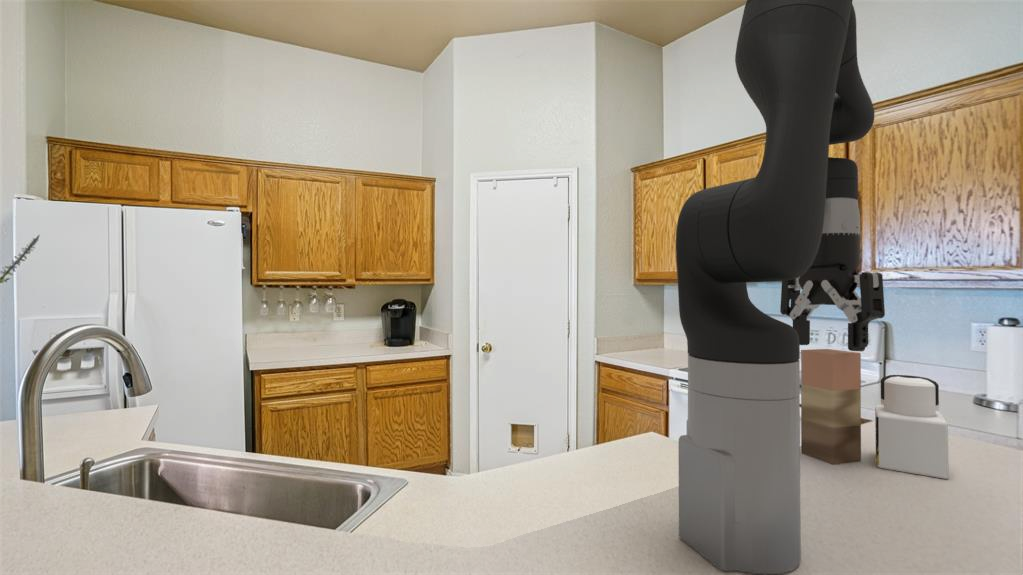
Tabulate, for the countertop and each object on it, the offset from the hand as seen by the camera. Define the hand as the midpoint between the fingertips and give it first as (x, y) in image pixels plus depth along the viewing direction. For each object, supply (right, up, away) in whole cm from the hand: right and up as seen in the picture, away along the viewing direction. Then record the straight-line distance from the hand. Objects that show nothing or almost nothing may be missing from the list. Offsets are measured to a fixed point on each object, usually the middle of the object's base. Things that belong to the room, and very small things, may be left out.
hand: (827, 347), depth 69 cm
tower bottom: (0, -16, 0) cm, 16 cm away
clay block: (0, -6, 0) cm, 6 cm away
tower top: (0, -11, 0) cm, 11 cm away
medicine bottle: (+9, -16, -4) cm, 18 cm away
